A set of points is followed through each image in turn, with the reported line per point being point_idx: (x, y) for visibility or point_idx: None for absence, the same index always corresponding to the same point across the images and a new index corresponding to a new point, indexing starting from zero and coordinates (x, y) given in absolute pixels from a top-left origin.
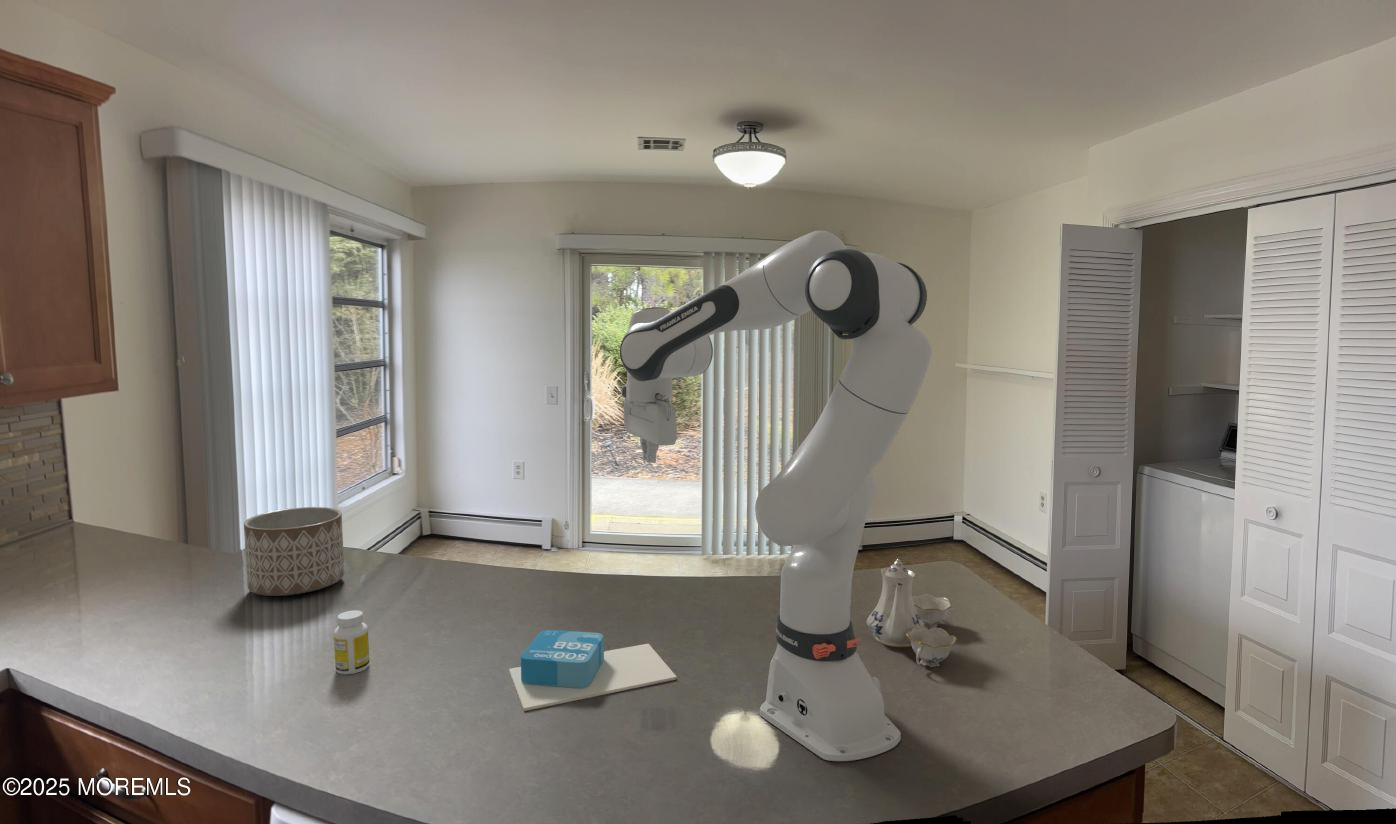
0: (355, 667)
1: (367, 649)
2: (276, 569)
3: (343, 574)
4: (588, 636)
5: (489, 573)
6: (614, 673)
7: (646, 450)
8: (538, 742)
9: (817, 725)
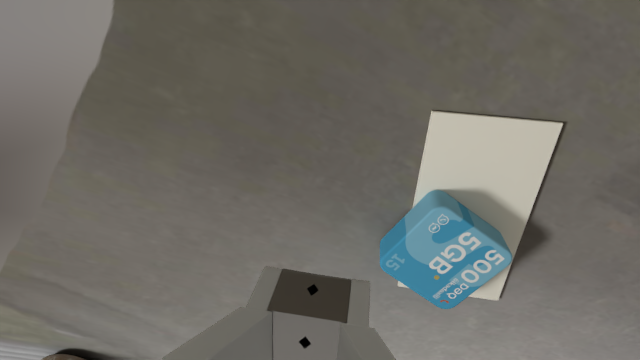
0: None
1: None
2: None
3: (73, 358)
4: (437, 226)
5: (66, 216)
6: (490, 194)
7: (263, 353)
8: (566, 305)
9: None
